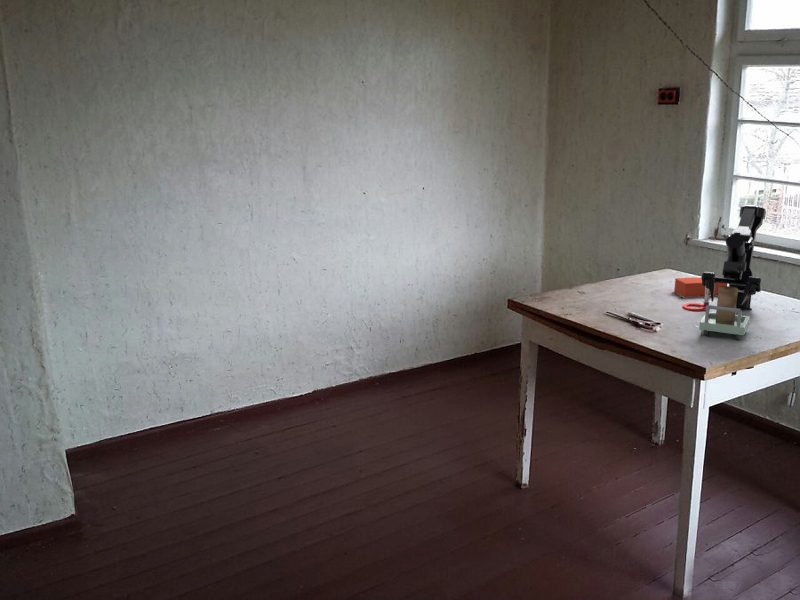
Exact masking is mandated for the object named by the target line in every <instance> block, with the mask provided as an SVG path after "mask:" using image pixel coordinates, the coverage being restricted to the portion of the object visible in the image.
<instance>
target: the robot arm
mask: <svg viewBox="0 0 800 600" xmlns="http://www.w3.org/2000/svg"><path fill="white" fill-rule="evenodd" d="M766 215H767V210H766V208H764V207H763V206H759V205H756V204H755V205H754V204H745V205H742V206H740V210H739V216H738V217H739V218H740V220H739V223H738V225H737V227H736V228H734V229H733V230H732V232H731V234H730V235H728V237H727V238H726V239H725V247H726V253H727V258H726V260H725V261H723V267H722V273H721V274H722V277H721V276H717V277H715V276H716V272H711V271H704V272H702V273H701V278H702V285H703V286H706V288H708V289H709V290H710V293H711V296H710V298H711V302H713V303H714V299H715V296H714V293H715V282H716V283H726V284H727V285H728V286H730V287H735V288H737V289H738V294H737V303H736V308H737V309H740V310H742V311H753V308H752V307H751V302H752V296H754V295H756V293H760V292H762V291H761V290H762V285H763V284H762V278H761V277H760V276H759V277H758V276H754V273H753V271H752V269H751V267H752V261H753V255H754V250H755V249H754V248H755V242H756V236H757V232H758V229H760V228H761V226H762V225H763V222H764V220H765V219H766Z"/></svg>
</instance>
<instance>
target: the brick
mask: <svg viewBox="0 0 800 600" xmlns="http://www.w3.org/2000/svg"><path fill="white" fill-rule="evenodd" d="M701 277H702V276H701ZM701 277H695V276H693V277H675V278H674V279H675V280H674V281H675V282H674V289H673V290H674V293H675V294H677V293H678V294H677V295H679V296H681V297H683V298H695V297H697V298H699V297H698V296H701V297H704V296H705V286H703V285H702V278H701ZM715 277H718V276H717V275H715ZM722 286H728V284H726V283H716V282H715V293H714V295H718V290H719V287H722ZM708 295H711V293H710V290H709V291H708Z"/></svg>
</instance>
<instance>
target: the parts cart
mask: <svg viewBox="0 0 800 600" xmlns="http://www.w3.org/2000/svg"><path fill="white" fill-rule="evenodd" d="M709 309H710V310H716V311H717V310H723V311H732V312H736V313H737V314H735V322H734V325H727V324H719V323H715V321H716V311H710V310H709ZM742 314H743V310H740V309H737V308H729V307H720V306H717V305H710V304H709V305H707V306H706V310H705V314H704V315H703V317H702V318H701V320H700V321H699V326H698V327H699V328H698V329H699V330H702V335H703V336H708V333H709V332H715V333H716V332H717V333H723V334H730V335H731V334H732V335H735V340H737V341H740V340H741V336H745V333H746V331H747V330H748V327H749V325H750V320H751V316H747V315H742Z"/></svg>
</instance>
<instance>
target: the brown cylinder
mask: <svg viewBox="0 0 800 600" xmlns="http://www.w3.org/2000/svg"><path fill="white" fill-rule="evenodd" d="M737 294H738V289H737V288H735V287H730V286H729V285H727V286H722V287H719V290H718V296H717V303H716V306H720V307H729V308H736V303H737ZM715 312H716V321H715V323H719V324H727V325H734V322H735V315H736V313H737V312H732V311H723V310H716V311H715Z"/></svg>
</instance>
